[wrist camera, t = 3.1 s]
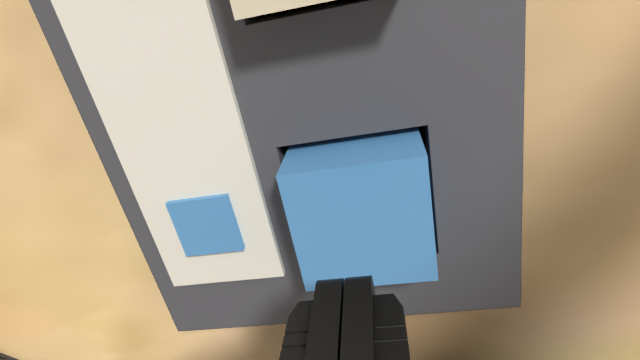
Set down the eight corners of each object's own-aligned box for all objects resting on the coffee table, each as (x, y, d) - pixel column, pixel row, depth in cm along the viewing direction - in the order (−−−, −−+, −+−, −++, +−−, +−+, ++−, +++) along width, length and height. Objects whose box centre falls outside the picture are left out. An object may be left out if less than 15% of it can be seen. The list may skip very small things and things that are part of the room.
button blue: (415, 120, 16) (427, 156, 13) (426, 228, 18) (438, 280, 15) (292, 139, 17) (275, 176, 14) (315, 240, 19) (305, 291, 16)
